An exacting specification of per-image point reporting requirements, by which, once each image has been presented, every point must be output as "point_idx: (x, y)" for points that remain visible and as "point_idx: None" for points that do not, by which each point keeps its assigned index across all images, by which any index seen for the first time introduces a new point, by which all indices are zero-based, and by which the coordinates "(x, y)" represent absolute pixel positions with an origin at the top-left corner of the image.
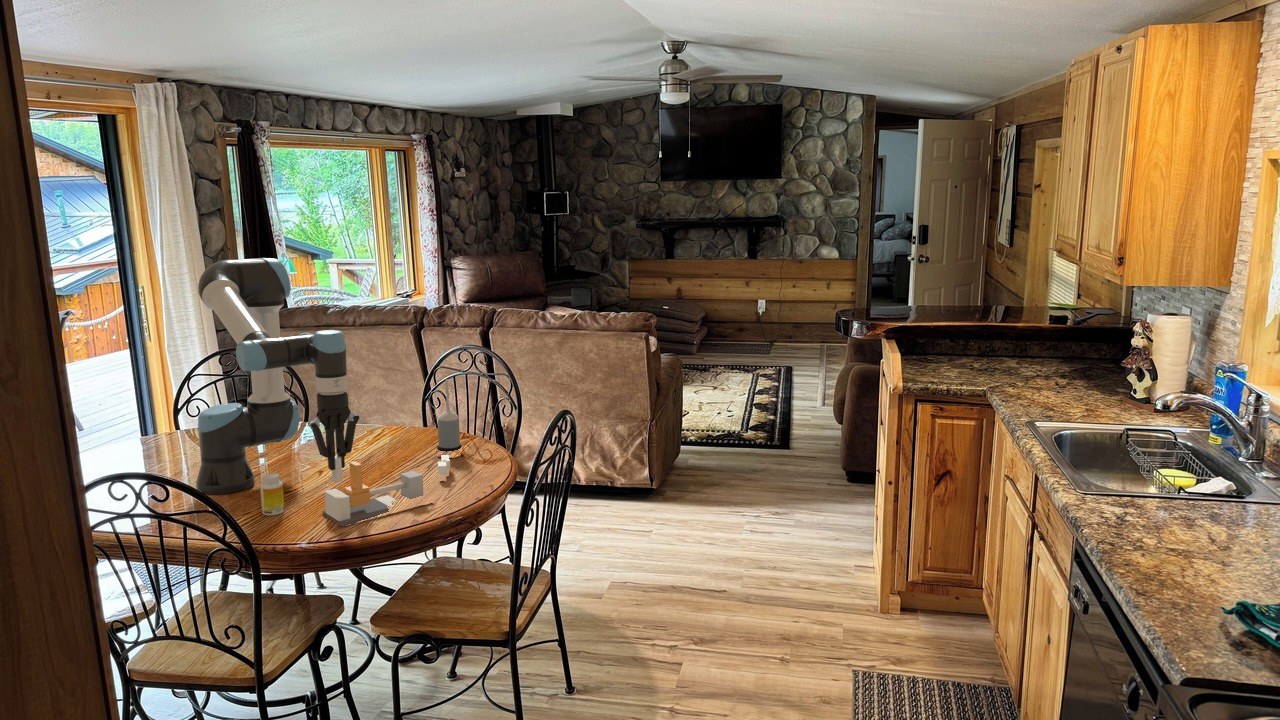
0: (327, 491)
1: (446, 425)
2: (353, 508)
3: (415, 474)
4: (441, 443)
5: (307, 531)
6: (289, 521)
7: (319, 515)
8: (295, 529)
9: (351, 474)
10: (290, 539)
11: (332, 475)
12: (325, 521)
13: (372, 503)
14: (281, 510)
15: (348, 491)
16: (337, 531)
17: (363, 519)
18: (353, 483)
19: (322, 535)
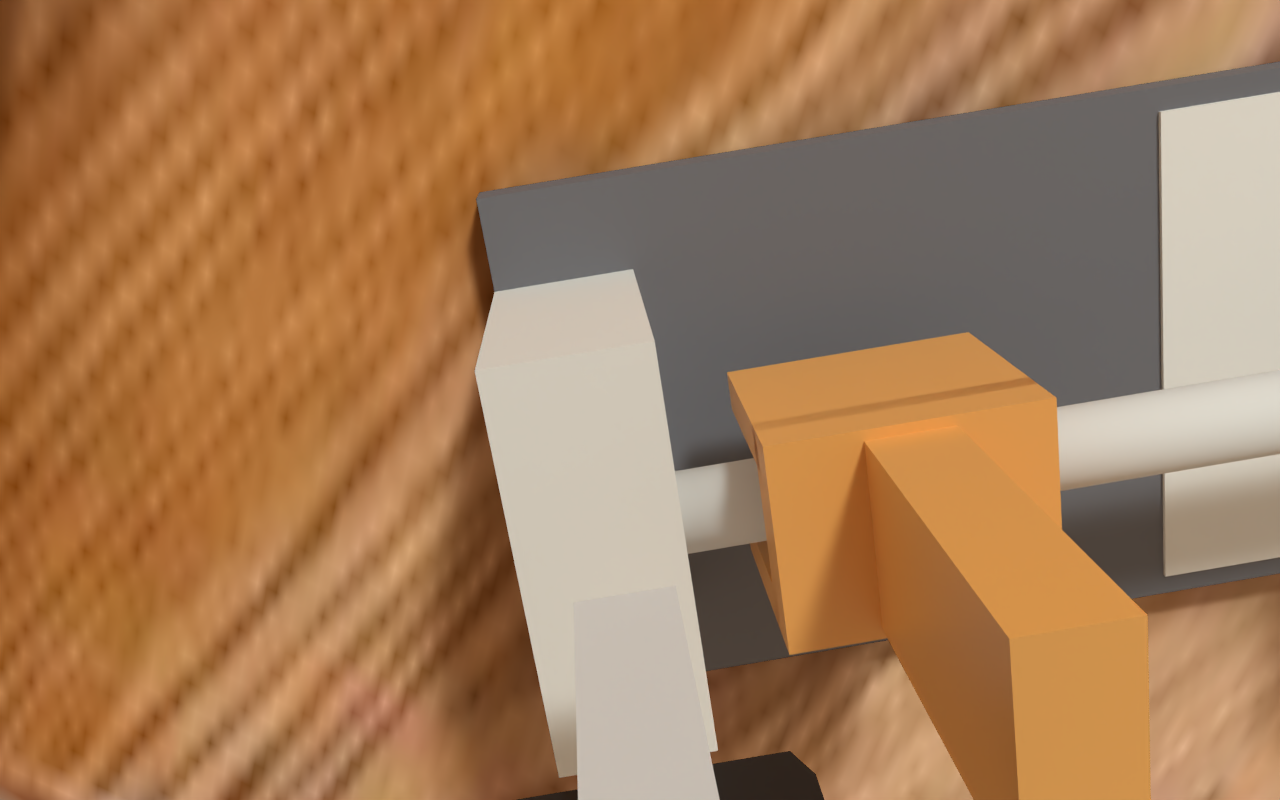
0: (511, 411)
1: None
2: (818, 316)
3: None
4: None
5: (230, 603)
6: (81, 209)
7: (439, 199)
8: (120, 489)
9: (931, 584)
10: (44, 719)
11: (577, 659)
12: (457, 424)
13: (1063, 270)
14: None
15: (774, 568)
16: (499, 740)
17: None
18: (893, 569)
19: (347, 766)
